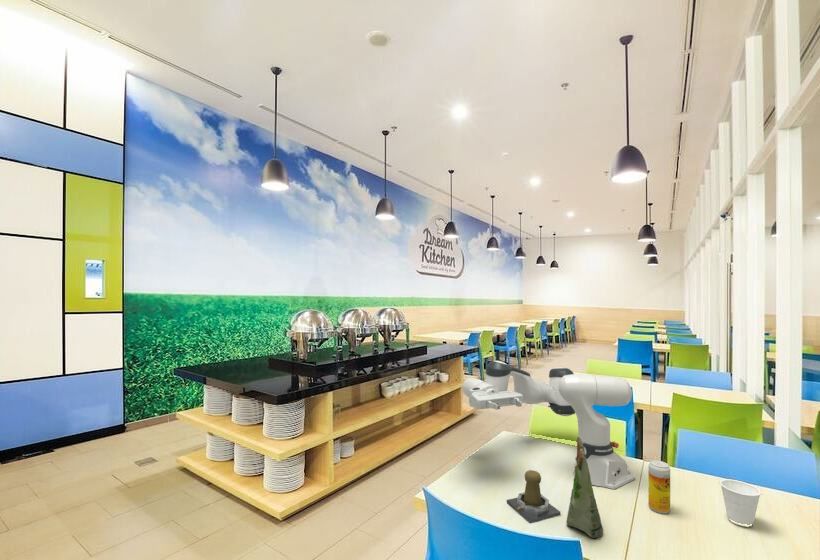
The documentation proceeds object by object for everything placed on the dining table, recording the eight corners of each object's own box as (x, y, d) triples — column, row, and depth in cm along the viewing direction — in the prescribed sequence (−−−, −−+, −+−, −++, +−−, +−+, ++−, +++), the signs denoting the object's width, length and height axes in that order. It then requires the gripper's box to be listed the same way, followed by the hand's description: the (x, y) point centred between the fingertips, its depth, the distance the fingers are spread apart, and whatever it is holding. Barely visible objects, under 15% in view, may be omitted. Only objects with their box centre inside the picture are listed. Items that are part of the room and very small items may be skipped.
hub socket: (535, 496, 137) (535, 487, 137) (560, 515, 126) (560, 505, 126) (506, 502, 133) (506, 494, 133) (529, 523, 121) (529, 513, 121)
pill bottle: (663, 516, 125) (663, 469, 126) (644, 506, 131) (644, 461, 131) (674, 511, 128) (674, 465, 128) (655, 502, 134) (655, 458, 134)
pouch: (585, 543, 112) (585, 455, 112) (554, 520, 123) (554, 440, 123) (612, 534, 117) (613, 449, 117) (580, 512, 127) (581, 435, 128)
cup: (764, 536, 116) (764, 498, 116) (722, 525, 121) (722, 489, 121) (757, 519, 124) (757, 484, 125) (717, 509, 130) (717, 476, 130)
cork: (542, 512, 126) (542, 477, 126) (522, 509, 127) (523, 475, 127) (542, 502, 131) (542, 469, 131) (523, 499, 133) (523, 466, 133)
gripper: (510, 400, 158) (532, 411, 145) (465, 406, 151) (485, 417, 138) (510, 385, 158) (533, 394, 146) (465, 389, 151) (485, 399, 138)
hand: (509, 405), depth 142 cm, fingers open, 8 cm apart
